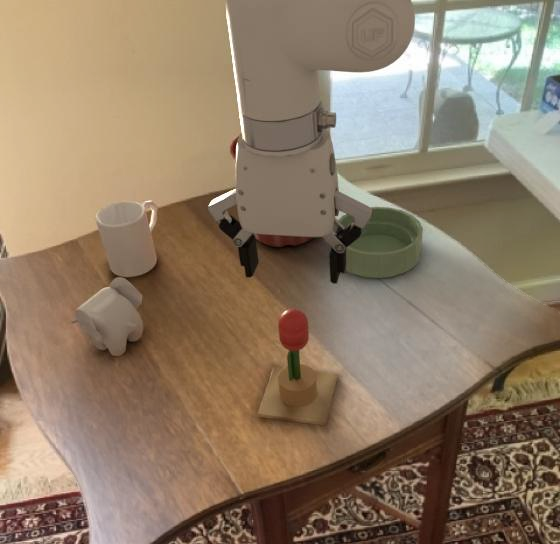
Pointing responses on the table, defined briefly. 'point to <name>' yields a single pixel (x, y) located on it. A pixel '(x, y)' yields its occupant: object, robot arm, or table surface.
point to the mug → (128, 237)
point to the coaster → (305, 414)
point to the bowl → (384, 244)
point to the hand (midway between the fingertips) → (293, 273)
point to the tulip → (295, 361)
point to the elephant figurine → (112, 316)
